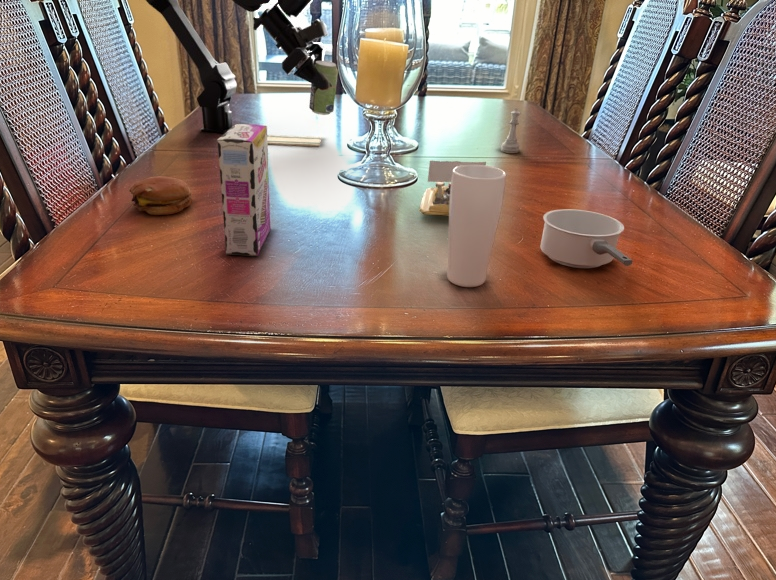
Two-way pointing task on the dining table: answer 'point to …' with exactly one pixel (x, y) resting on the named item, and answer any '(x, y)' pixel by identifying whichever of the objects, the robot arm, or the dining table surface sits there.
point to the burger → (161, 195)
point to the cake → (440, 187)
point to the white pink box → (245, 188)
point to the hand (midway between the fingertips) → (328, 86)
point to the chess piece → (512, 135)
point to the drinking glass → (473, 221)
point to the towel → (293, 140)
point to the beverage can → (325, 97)
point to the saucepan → (582, 238)
